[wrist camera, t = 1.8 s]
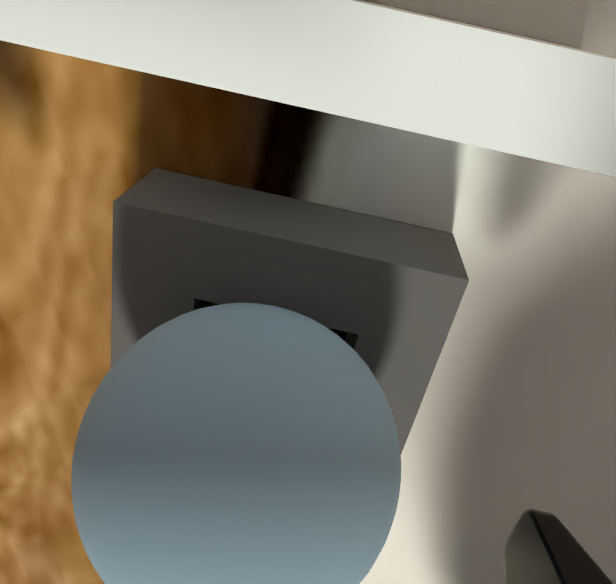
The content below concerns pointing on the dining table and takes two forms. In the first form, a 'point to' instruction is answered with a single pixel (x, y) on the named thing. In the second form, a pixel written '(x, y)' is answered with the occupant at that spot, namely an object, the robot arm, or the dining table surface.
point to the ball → (236, 455)
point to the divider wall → (353, 66)
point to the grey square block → (287, 273)
